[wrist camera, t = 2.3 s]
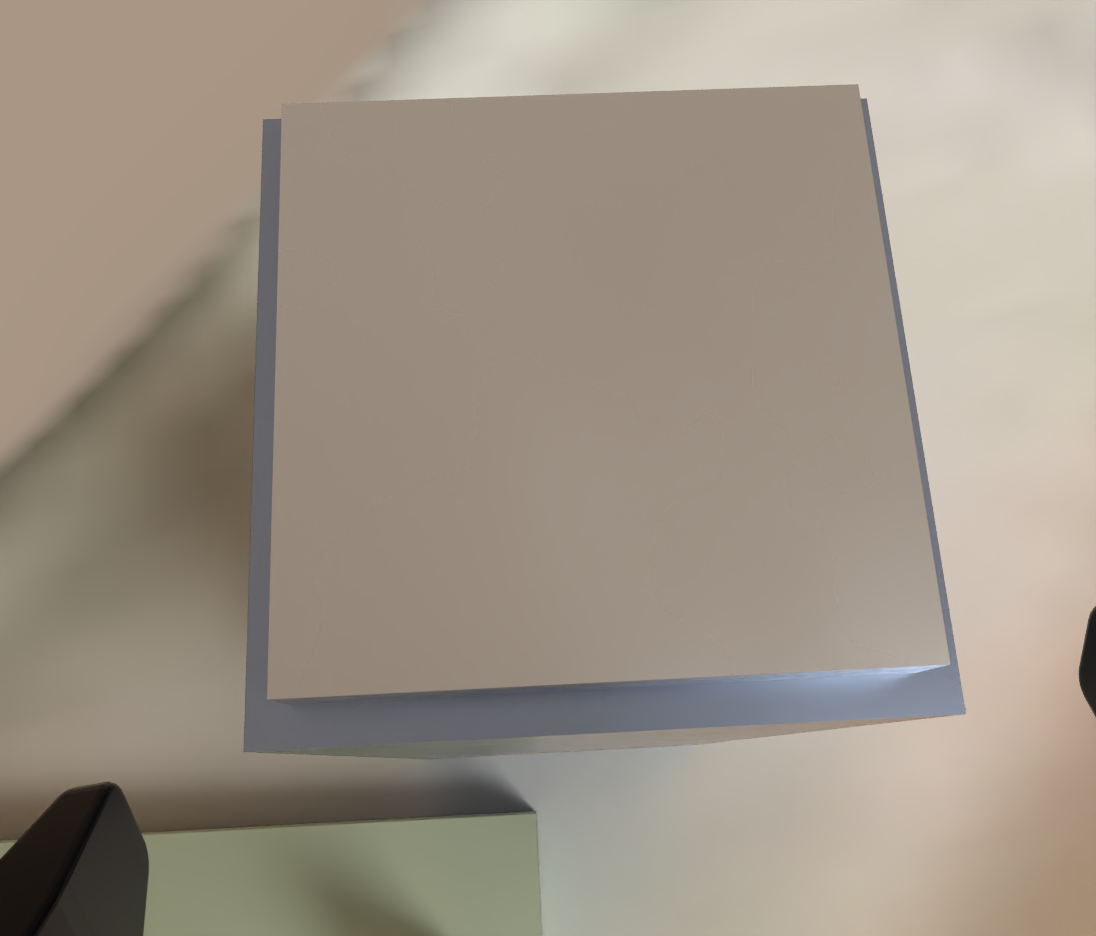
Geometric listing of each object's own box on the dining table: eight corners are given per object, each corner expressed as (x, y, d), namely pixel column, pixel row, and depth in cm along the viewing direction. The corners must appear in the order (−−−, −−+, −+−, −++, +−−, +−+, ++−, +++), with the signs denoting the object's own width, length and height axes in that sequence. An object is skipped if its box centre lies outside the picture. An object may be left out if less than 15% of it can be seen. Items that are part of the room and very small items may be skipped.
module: (697, 744, 19) (1005, 710, 7) (423, 758, 18) (217, 750, 6) (673, 481, 20) (891, 49, 8) (418, 493, 20) (244, 72, 8)
